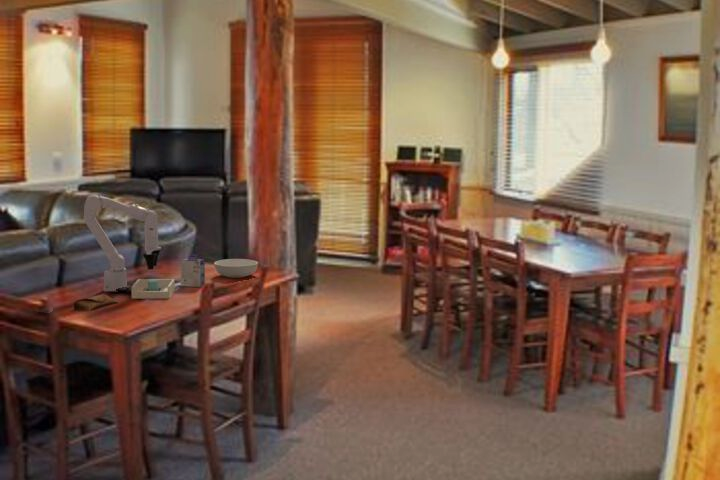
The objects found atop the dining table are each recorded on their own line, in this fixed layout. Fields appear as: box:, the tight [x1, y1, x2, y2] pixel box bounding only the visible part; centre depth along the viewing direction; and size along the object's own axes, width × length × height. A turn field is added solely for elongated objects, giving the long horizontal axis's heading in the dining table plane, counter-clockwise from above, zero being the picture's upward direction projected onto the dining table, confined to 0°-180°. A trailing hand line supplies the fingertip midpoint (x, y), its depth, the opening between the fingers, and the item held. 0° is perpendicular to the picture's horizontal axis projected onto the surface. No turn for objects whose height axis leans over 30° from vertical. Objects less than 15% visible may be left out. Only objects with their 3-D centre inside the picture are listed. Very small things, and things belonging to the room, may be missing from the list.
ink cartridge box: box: [180, 253, 206, 288], centre depth 396 cm, size 10×6×14 cm, turn 78°
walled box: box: [131, 278, 176, 299], centre depth 379 cm, size 16×16×5 cm
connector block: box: [148, 280, 159, 291], centre depth 379 cm, size 4×4×6 cm
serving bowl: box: [213, 258, 259, 279], centre depth 418 cm, size 21×21×7 cm
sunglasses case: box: [73, 292, 119, 312], centre depth 358 cm, size 18×7×7 cm, turn 155°
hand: (152, 267), depth 389 cm, fingers open, 7 cm apart
